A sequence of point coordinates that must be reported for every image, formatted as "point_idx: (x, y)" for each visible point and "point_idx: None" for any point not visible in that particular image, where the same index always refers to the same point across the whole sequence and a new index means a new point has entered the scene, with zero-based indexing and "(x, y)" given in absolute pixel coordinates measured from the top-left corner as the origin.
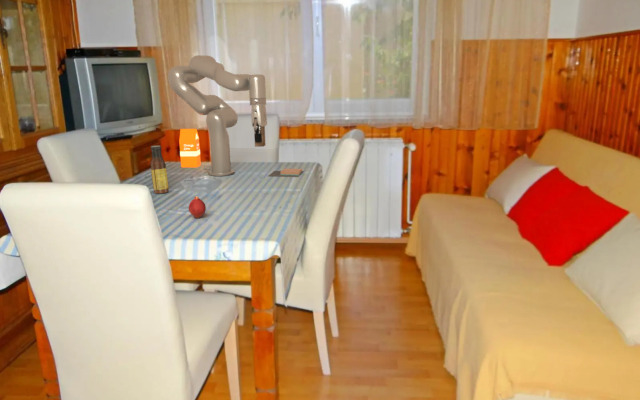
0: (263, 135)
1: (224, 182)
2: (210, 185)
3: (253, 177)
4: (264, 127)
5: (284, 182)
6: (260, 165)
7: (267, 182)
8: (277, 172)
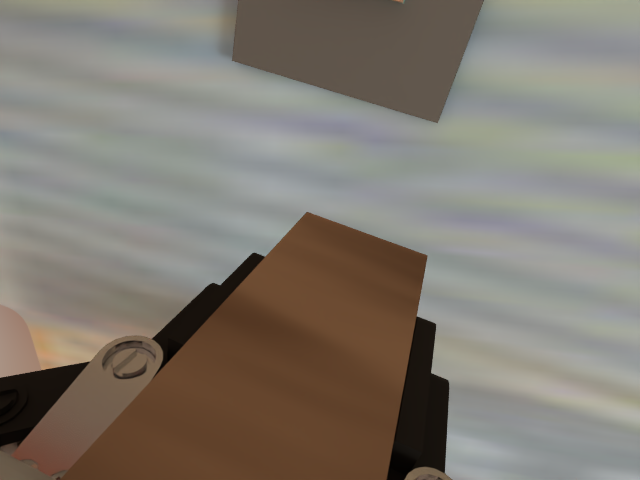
0: (340, 347)
1: (501, 378)
2: (560, 445)
3: (392, 215)
4: (118, 449)
5: None
6: (52, 153)
7: (623, 125)
8: (299, 36)
